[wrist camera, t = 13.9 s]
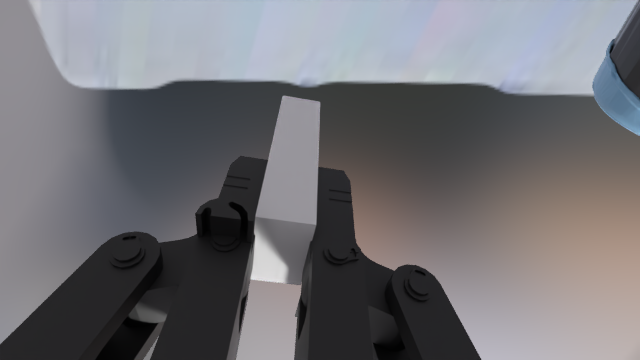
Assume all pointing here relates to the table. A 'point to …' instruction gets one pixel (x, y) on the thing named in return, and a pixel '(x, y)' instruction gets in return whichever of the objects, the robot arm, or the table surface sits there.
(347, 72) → the table surface
